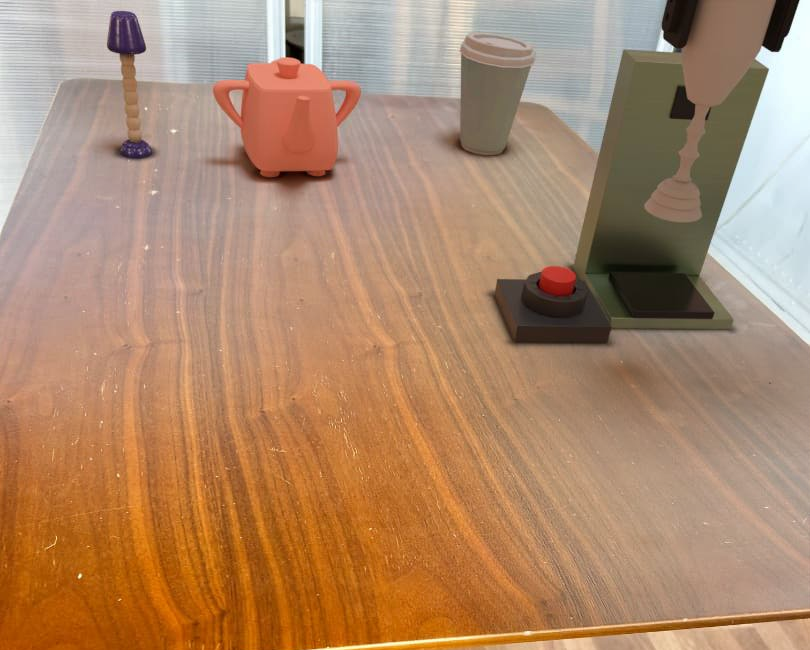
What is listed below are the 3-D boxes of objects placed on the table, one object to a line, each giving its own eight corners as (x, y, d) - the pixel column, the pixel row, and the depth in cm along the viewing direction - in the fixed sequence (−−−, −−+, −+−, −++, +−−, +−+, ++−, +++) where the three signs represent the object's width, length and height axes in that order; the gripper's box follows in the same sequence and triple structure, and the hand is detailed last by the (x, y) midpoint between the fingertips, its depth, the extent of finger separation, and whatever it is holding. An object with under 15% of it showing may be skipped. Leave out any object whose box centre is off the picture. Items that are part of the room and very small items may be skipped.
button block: (580, 298, 99) (588, 264, 96) (606, 345, 91) (616, 310, 89) (493, 297, 97) (499, 263, 94) (513, 344, 90) (520, 309, 87)
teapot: (272, 137, 127) (270, 35, 118) (368, 163, 123) (374, 59, 114) (202, 172, 116) (194, 62, 107) (306, 202, 111) (306, 90, 102)
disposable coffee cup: (465, 131, 136) (479, 21, 125) (530, 148, 133) (550, 37, 122) (436, 151, 128) (448, 36, 118) (504, 169, 125) (522, 53, 115)
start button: (567, 281, 93) (571, 266, 92) (576, 298, 91) (580, 282, 90) (534, 281, 93) (537, 265, 92) (543, 297, 90) (546, 281, 89)
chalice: (687, 192, 81) (754, -37, 69) (729, 223, 76) (809, -17, 64) (618, 197, 79) (674, -39, 67) (657, 229, 74) (725, -18, 62)
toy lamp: (127, 146, 120) (109, 6, 108) (161, 150, 120) (147, 10, 108) (115, 158, 116) (96, 15, 105) (150, 162, 116) (135, 20, 105)
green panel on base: (683, 271, 106) (752, 56, 90) (729, 331, 96) (816, 102, 80) (572, 269, 104) (623, 48, 88) (607, 330, 94) (672, 94, 78)
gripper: (704, -272, 53) (631, 55, 65) (962, -246, 55) (845, 63, 67) (659, -275, 58) (599, 28, 70) (896, -251, 61) (799, 36, 73)
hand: (720, 43), depth 69 cm, fingers closed on chalice, 7 cm apart
